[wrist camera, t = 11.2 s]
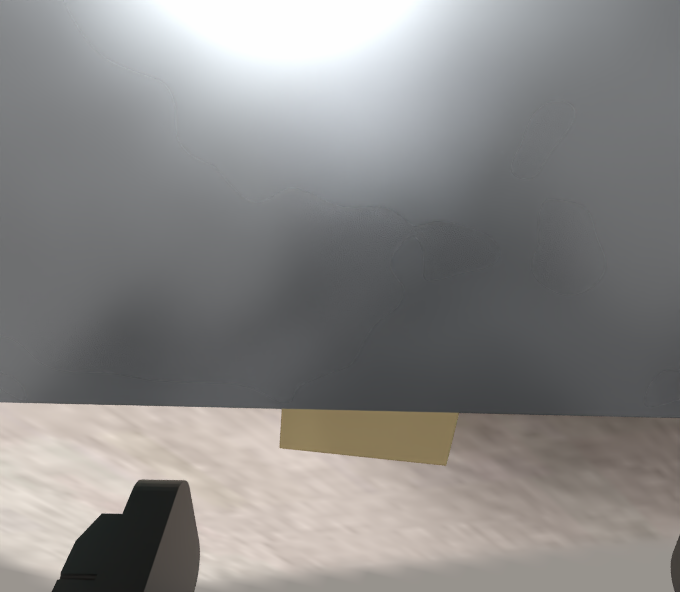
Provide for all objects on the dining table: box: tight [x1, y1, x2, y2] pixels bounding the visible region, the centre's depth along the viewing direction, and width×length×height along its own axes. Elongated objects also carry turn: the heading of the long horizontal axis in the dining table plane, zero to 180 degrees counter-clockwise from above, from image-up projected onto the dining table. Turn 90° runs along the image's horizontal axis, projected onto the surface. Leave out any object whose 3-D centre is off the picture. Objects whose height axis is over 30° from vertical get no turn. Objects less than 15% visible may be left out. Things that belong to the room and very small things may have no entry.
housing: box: [0, 0, 680, 418], centre depth 9 cm, size 14×5×10 cm, turn 91°
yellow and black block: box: [280, 409, 459, 466], centre depth 12 cm, size 5×13×6 cm, turn 175°
